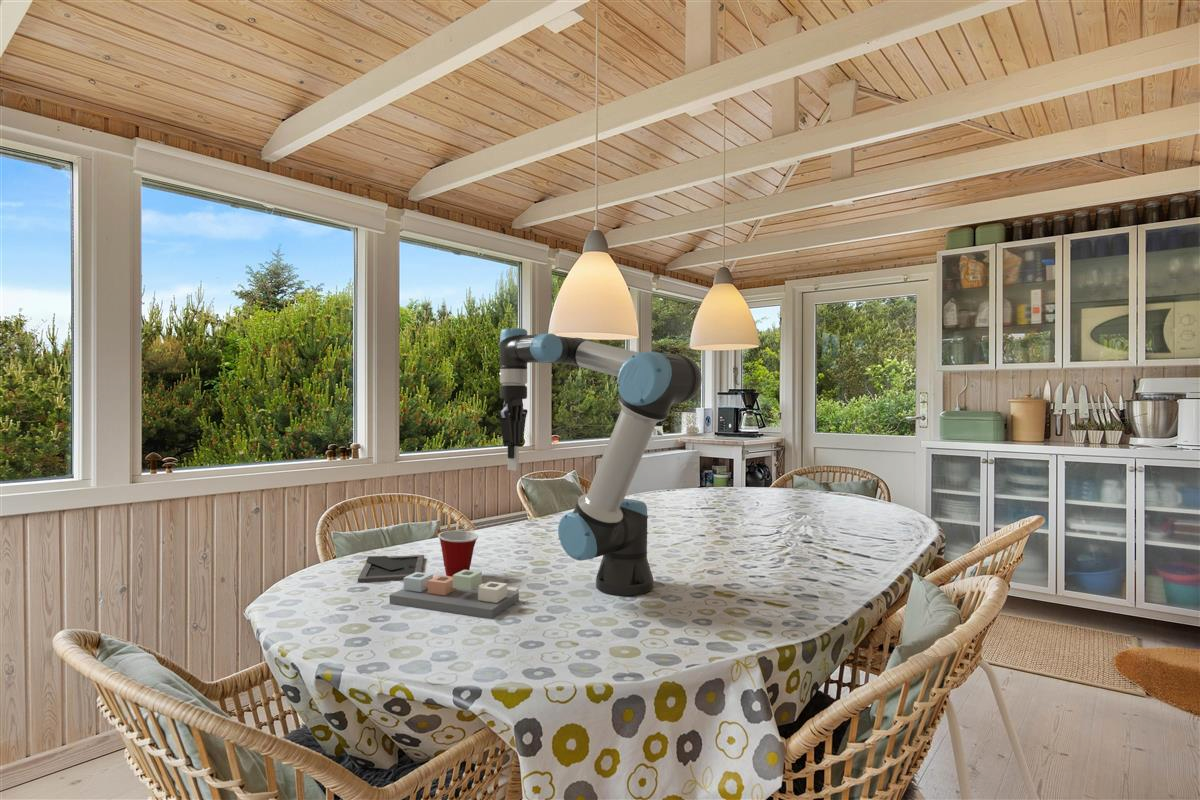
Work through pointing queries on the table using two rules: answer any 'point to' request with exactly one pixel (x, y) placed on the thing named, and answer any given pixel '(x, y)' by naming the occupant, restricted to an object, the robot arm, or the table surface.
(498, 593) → the key ivory
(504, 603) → the keypad base
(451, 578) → the key terracotta
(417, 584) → the key blue
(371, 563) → the picture frame
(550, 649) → the table surface
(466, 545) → the plastic cup
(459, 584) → the key sage
